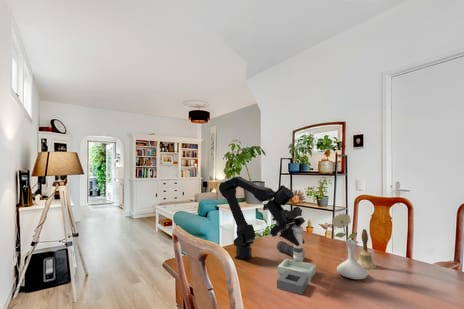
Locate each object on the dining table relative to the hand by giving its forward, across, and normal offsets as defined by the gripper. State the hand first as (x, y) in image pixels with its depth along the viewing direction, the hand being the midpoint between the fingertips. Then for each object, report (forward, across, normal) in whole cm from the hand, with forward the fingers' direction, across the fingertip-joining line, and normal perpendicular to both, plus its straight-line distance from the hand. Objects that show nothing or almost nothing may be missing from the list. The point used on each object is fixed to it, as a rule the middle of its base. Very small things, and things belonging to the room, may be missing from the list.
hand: (301, 244), depth 98 cm
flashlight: (-2, +20, +22) cm, 30 cm away
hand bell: (+19, +33, 0) cm, 38 cm away
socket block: (+10, -8, +9) cm, 15 cm away
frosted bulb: (+4, 0, +6) cm, 7 cm away
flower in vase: (+18, +17, +1) cm, 25 cm away
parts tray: (+7, +4, +12) cm, 14 cm away
